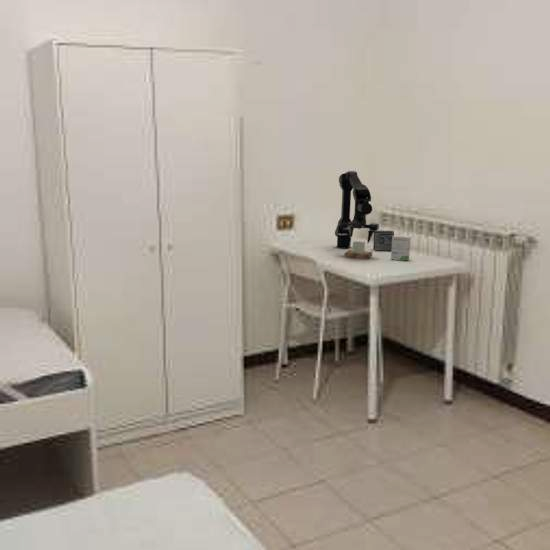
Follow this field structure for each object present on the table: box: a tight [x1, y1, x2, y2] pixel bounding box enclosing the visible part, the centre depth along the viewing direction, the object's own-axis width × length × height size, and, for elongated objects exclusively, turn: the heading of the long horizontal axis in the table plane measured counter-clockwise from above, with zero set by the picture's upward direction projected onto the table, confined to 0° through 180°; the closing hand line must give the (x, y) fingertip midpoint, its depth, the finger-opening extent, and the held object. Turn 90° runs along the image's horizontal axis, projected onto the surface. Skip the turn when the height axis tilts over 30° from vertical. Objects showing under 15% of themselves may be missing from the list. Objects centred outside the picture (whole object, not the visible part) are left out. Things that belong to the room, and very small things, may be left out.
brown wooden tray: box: [344, 249, 373, 260], centre depth 359 cm, size 12×10×2 cm
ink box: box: [390, 235, 411, 261], centre depth 352 cm, size 9×5×12 cm, turn 71°
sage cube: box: [352, 241, 366, 253], centre depth 358 cm, size 5×5×5 cm
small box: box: [372, 230, 395, 252], centre depth 378 cm, size 11×6×10 cm, turn 84°
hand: (359, 242), depth 358 cm, fingers open, 9 cm apart
